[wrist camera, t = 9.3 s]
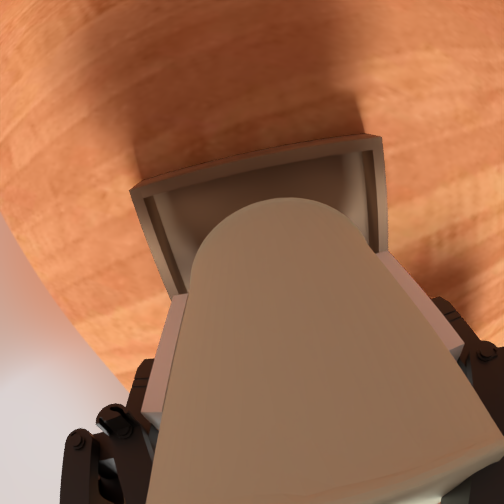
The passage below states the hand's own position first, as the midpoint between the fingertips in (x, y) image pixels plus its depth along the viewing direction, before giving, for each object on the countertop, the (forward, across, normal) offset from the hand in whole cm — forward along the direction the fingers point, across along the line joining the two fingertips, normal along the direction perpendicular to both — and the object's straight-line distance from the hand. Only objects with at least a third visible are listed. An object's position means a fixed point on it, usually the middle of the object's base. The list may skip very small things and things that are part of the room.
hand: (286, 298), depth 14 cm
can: (+1, 0, 0) cm, 1 cm away
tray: (+4, 0, 0) cm, 4 cm away
